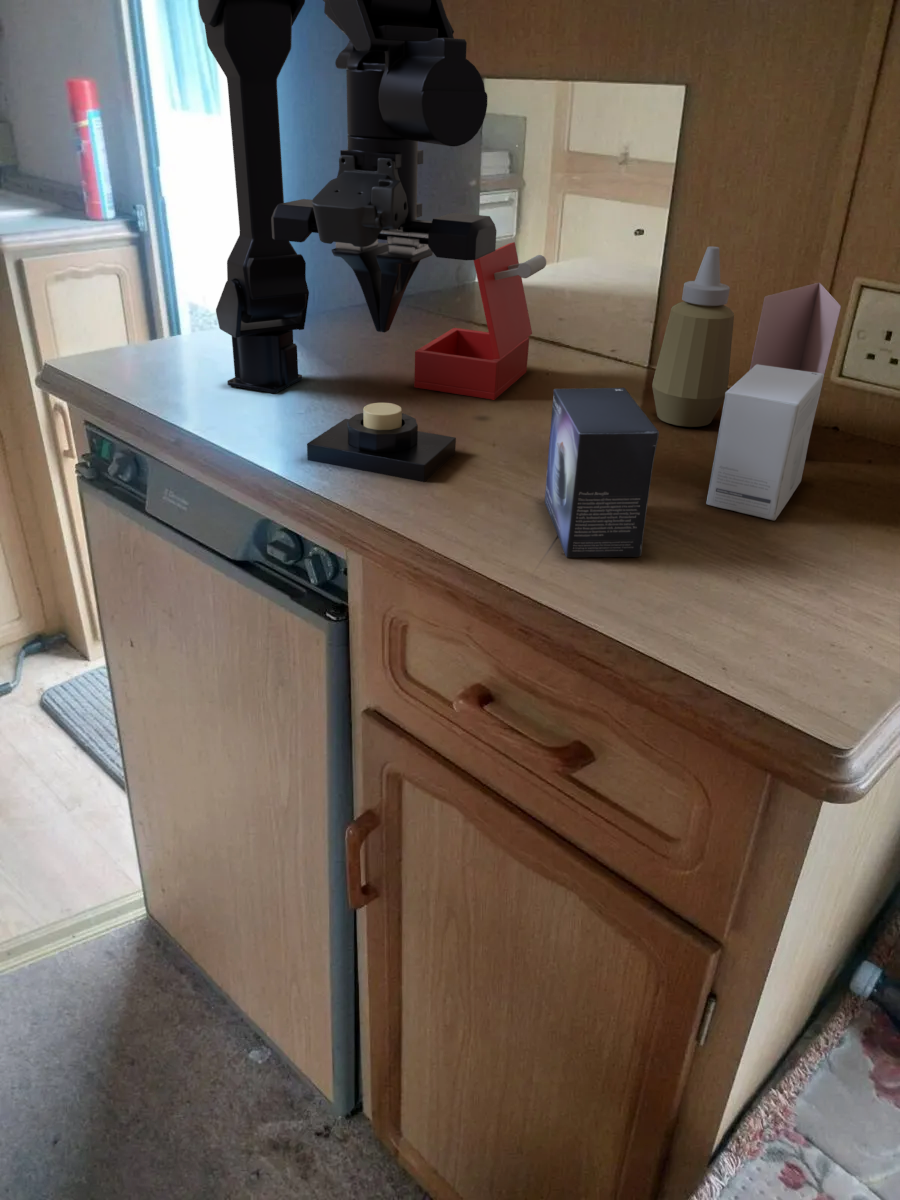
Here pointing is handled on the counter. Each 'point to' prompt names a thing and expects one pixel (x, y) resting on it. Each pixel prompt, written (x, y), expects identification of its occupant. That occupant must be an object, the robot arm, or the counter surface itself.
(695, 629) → the counter surface
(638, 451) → the small box
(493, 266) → the door
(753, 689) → the counter surface
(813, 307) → the greeting card
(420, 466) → the button housing
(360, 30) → the robot arm
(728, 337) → the squeeze bottle
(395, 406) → the button
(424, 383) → the box
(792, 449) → the cosmetics box
